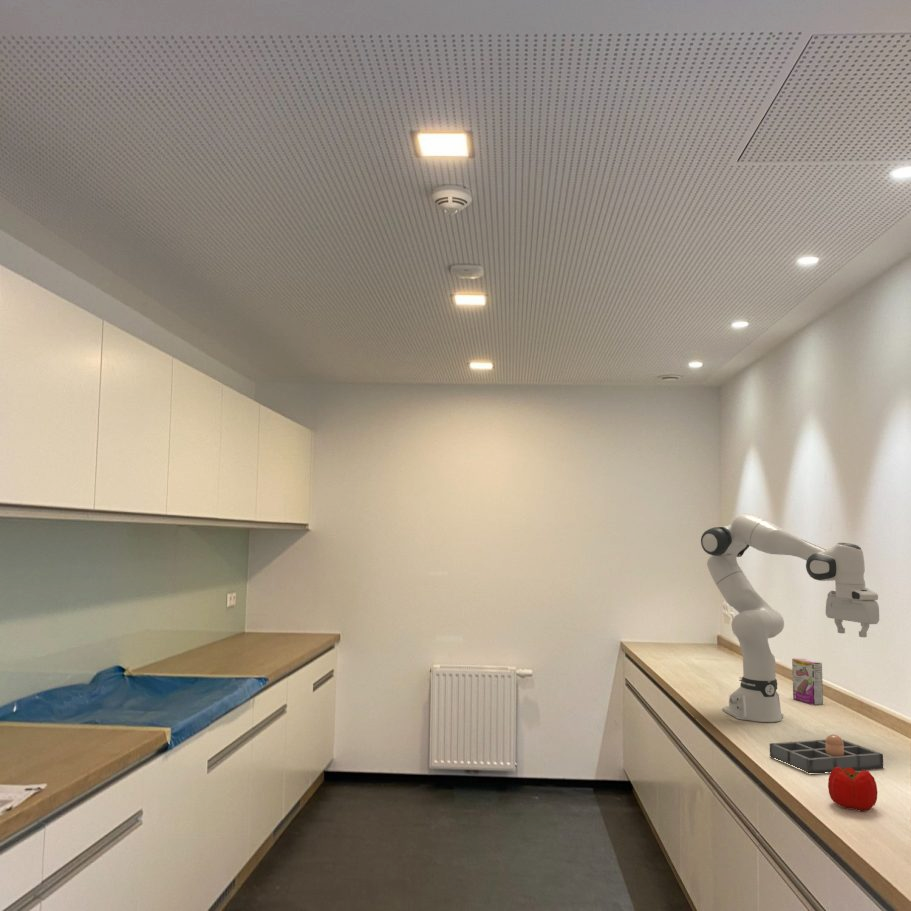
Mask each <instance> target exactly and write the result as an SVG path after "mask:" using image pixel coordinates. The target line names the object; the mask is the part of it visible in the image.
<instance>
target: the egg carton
mask: <svg viewBox="0 0 911 911" xmlns="http://www.w3.org/2000/svg"><path fill="white" fill-rule="evenodd" d="M842 740H843V743H844V756H834V757H833V756H831V755H828V754H826V744H825V741H826V739H814V740H801V741H787V742H786V741H784V742H772V743H769V757H770V756H771V757H773V758H776V759H778V760H781V761H783V762H786V763H788V764H790V765H793V766H795V767H797V768H800V769H802V770H804V771H806V772H808V773H823V774H826V773H825V772H831V771H832V770H833V769H834V768H835V767H840V768H841V769H842V770H843V769H845V768H853V769H854V770H855V771H856V772H858V771H862V770H865V771H869V770H879V769H881V768H882V769H884V754H883V753H882V752H878V751H875V750H873V749H870V748H868V747H865V746H861V745H859V744H856V743H853V742H851V741H847V740H845V739H842ZM771 757H770V758H771ZM773 758H772V759H773ZM778 760H777V761H778Z"/></svg>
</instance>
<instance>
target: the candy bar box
mask: <svg viewBox="0 0 911 911" xmlns="http://www.w3.org/2000/svg"><path fill="white" fill-rule="evenodd" d="M791 661H792V662H791V663H792V664H791V665H792V696H793V698H792V700H795V701H799V702H802V703H805V704H809V705H812V704H813V705H814V706H818V705H817V704H821V705H824V694H823V693H824V688H823V685H824V684H823V662H821V661H820V662H819V661H816V660H812V659H807V658H803V657H796V658H795V657H794V658H792V659H791ZM813 705H812V706H813Z"/></svg>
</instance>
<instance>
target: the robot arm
mask: <svg viewBox="0 0 911 911" xmlns="http://www.w3.org/2000/svg"><path fill="white" fill-rule="evenodd" d="M700 538H701V539H700V545H701V548H702V549H703V551H704V552H705V553H706V554H708V555H710V556H709V557H708V559H707V561H706V562H707V563H706V564H707V569H708V571H709V573H710V576H711V578H712V580H713V582H714V584H715V586H716V587H717V589H718V590H719V592H720V594H721V596H722V597H723V598H724V599H723V600H725V603H727V605H729V606H730V607H731V608H733V609H734V610H736V612H737V613H738V614H736V615H735V616H734V617H733V619H732V621H731V626H730V627H731V631H732V632H733V635H735V637H736V638H737V639H738V642H739V646H740V650H741V654H742V672H743V673H742V674H743V676H742V677H740V679H739V681H740V686H739V687H738V688H737V689H736V690H734V691H733V692H732V693H730V695H729V699H728V706H723V707H722V710H721V711H723V712H725V713H726V714H729V715H730V716H732V717H733V718H736V719H737V720H744V721H752V722H760V723H762V722H763V723H775V722H776V723H777V722H780V721H782V718H784V714H783V713H782V710H781V703H780V695H779V693H778V692H777V690H778V680H777V679H776V677H777V675H776V674H777V673H776V657H775V656H774V654H773V653H772V651H771V647H770V644H769V639H771V638H775V637H776V636H778V635H779V634H780V633H782V632H783V630H784V627H785V620H784V617H783V616H782V614H781V613H780V612H779V611H777V610H775V609H773V608H772V607H771V606H770V605H769V604H768V603H767V601H766V600H764V598H763V597H762V596H761V595H760V594H759V593H758V592H757V591H756V589H755V588H754V587H753V585H752V583H751V582H750V581H749V579H748V578H747V576H746V575H745V572H743V570H742V568H741V567H740V565H739V563H738V561H737V560H738V559H737V558H740V557H743V555H744V553H745V552H746V551H747V550H748V549H749V548H750V547H751V548H753V549H755V550H757V551H759V552H763V553H766V554H769V555H780V556H782V555H784V556H792V557H797V558H800V559H802V560H805V561H806V562H805V569H806V572H807V574H808V575H809V577H810V578H812V579H813V580H816V581H820V582H826V581H827V582H829V581H831V582H832V581H834V582H835V590H830V591H829V592H828V593H827V597H826V601H825V616H826V618H828V619H834V624H835V625H836V628H837V633H838V634H845V633H846V628H845V627H844V626H843V622H844V621H847V622H853V623H859V624H860V627H861V628H860V630H858V637H859V638H867V636H868V635H867V634H868V633H867V632H868V631H869V628H870V625H878V623H879V621H880V605H879V603H878V601H877V600H878V599H879V594H878V593H877V592H875V591H873V590H871V589H869V588H868V587H866V582H865V576H864V574H865V557H864V553H863V549H862V548H861V546H860V545H856V544H853V543H848V542H847V543H846V542H838V543H836V544H835V545H833V546H832V547H830V548H828V549H825V548H822V547H820V546H818V545H816V544H813V543H812V542H809V541H807V540H804V539H802V538H800V537H798V536H796V535H795V534H793V533H790V532H789V531H786V530H785V529H784V528H781V527H780V526H778V525H776V524H774V523H772V522H770V521H769V520H767V519H764V518H761V517H759V516H756V515H753V514H750V513H741V514H738V515H737V516H736V517H735V518H733V521H732V523H731V524H725V525H719V526H717V527H716V526H715V527H710V528H709V529H707V530H705V531H704V532H703V533H702V535H701V537H700Z"/></svg>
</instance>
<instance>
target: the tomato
mask: <svg viewBox="0 0 911 911" xmlns="http://www.w3.org/2000/svg"><path fill="white" fill-rule="evenodd" d="M827 782H828V783H827V787H828V794H829V797H830V799H831V800H832V801H833V803H835V804H836V805H838V807H839V806H840V807H842V808H844V809H847V808H848V809H849V810H850V809H851V810H856V811H858V810H860V812H867V811H870V810H871V809H872V808H873V807H874V806H876V803H877V799H878V785H877V782H876V779H875V777H874V776H873V775H872V774H871V772H870V771H869V770H858V771H855V770H854V769H853V768H845V769H843V770H842V769H841V768H840V767H835V768H834V769H833V770H832V771H831V773H829V777H828V781H827ZM848 809H847V810H848Z"/></svg>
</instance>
